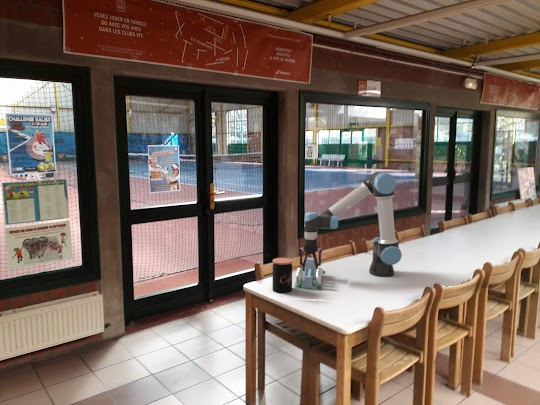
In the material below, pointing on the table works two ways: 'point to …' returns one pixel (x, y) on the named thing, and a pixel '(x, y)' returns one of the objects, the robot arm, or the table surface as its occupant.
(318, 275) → the spacers
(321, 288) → the green mat
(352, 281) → the table surface
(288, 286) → the coffee jar
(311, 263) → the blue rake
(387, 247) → the robot arm
